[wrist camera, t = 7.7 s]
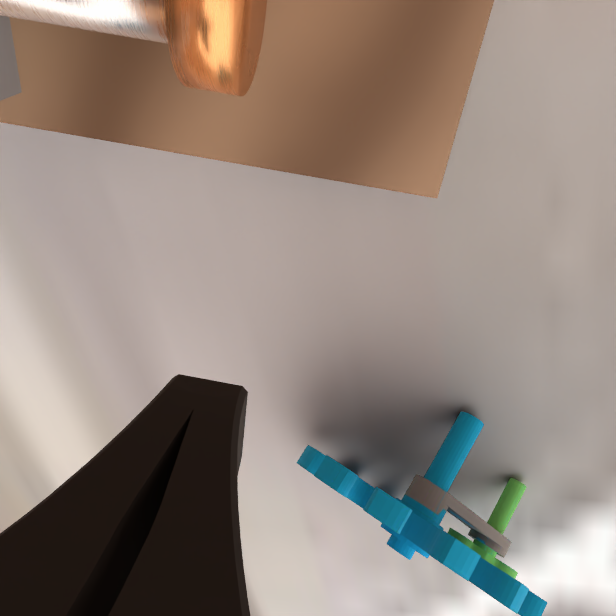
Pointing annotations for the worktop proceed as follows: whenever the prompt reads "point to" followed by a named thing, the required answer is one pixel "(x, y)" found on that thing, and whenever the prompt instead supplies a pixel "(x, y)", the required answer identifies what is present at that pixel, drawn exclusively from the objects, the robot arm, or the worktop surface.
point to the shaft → (171, 32)
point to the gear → (441, 517)
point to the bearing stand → (269, 90)
